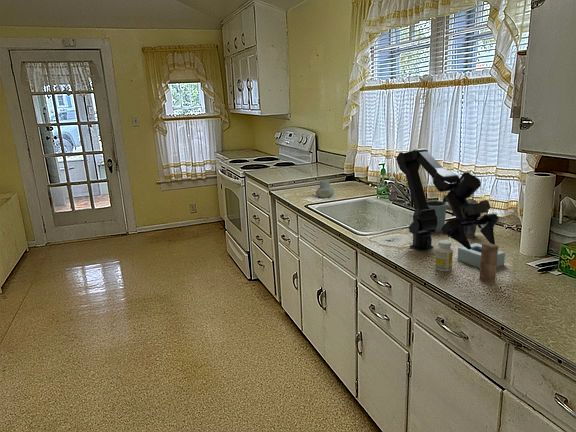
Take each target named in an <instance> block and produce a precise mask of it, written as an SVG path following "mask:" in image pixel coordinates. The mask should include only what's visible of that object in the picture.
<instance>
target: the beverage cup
mask: <svg viewBox="0 0 576 432" xmlns="http://www.w3.org/2000/svg"><path fill="white" fill-rule="evenodd" d="M474 196H475V193H474V194H473V195H472V196H471V198H467V201H468V202H469V203H472V204H477V203H479V201H477V200H476V199H474ZM477 219H479V217H478V218H477ZM476 232H477V226H471V227H465V228H464V233H465V235H466V237H467V238H474V237H475V236H476Z"/></svg>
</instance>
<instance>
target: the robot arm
mask: <svg viewBox="0 0 576 432" xmlns="http://www.w3.org/2000/svg"><path fill="white" fill-rule="evenodd" d="M396 163H397V165H398V168H399V170H400V171H401V173H403V174H404V175H405V177H406V182H407V185H408V188H409V192H410V196H411V201H412V203H413V204H412V205H413V206H414V207H413V208H414V212H413V215H412V220H413V221H412V222H411V224H410V225H409V226H408V230H409V231H408V232H409V233H410V234H412V244H410V245H409V247H410V248H412V249H416V250H418V251H420V252H423V251H427V250H430V249H433V248H434V246H433V245H432V233H436V232H435V230H436V227H437V224H438V221H437V219H438V218H437V216H436V212H435V210H434V209H430V208H429V207H428V204H427V201H428V200H427V198H426V195H425V194H426V193H425V191H424V188H423V184H422V180H421V176H420V172H419V170H420V167H422V168H423V169H424V170H425V171H426V172H427V173H428V174H429V176H431V178H432V184H433V185H434V187H435V188H436V190H437V191H438V192H439V193H441V192H442V193H443V192H448V193H446V194H443V198H442V201H443V203H444V202H446V203H447V204H448V205H449V208H450V210H451V211H452V212H451V216H452V217H455V218H454V219H448V220H447V221H445V223H444V225H443V226H442V228H441V233H442V234H443V236H447V238H451V239H453V240H454V241H455V242H457V243H459V244H461V246H462V247H463V246H464V247H466V248H467V249H468V250H470V249H471V246H470V244H471V243H470V242H469V239H468V237H466V235H465V233H464V228H465V227H471V226H476V227H478V228H479V229H480V230H479V232H480V233H481V234H482V235H483V237H484V238H485V239H486V240H487V242H489V243H491V244H494V245H496V241H495V233H494V227H495V225H496V224H497V223H498V221H499V220H500V218H499V217H498V215H497V213H488V212H489V211H488V210H491V204H490V202H489V201H488V200H487V199H485V200H483V199H482V201H478V203H477V204H472V203H469V202H468V201H467V200H468V199H470V197H471V198H472V195H473V194H474V195H475V193H476V192H477V191H478V189H479V188H480V187H481V185H482V182H481V180H480V178H478V177H476V176H475V175H474V174H471V173H470V172H469V171H466V172H462V174H461V176H460V177H459V175H458V174H457V173H455V172H454V171H452V170H451V169H450V170H449V169H448V168H447V169H446V168H445V167H443V166H442V165H441V164H440V163H439V162H438V161H437V160H436V158H434V157H433V155H432V154H430V153H429V150H428V149H427V148H415V149H413V150H411V151H409V150H408V151H402V152H401V151H400V152H399V153H398V155H397V156H396ZM483 213H487V214H484V215H483V216H482V215H481V214H483ZM477 218H478V219H477Z"/></svg>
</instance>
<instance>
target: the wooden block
mask: <svg viewBox="0 0 576 432" xmlns="http://www.w3.org/2000/svg"><path fill="white" fill-rule="evenodd" d="M481 245H482V250H481V264H480V268H479V277H478V279H479V280H480V281H483V282H484V283H486V284H488V285H490V284H495V283H496V277H497V268H498V267H497V255H498V250H499V245H497V244H495V245H494V244H491V243H489V241H487V242H483V243H481Z"/></svg>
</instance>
